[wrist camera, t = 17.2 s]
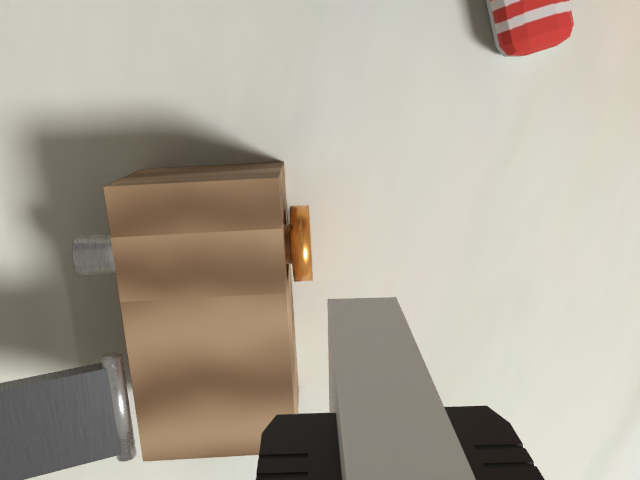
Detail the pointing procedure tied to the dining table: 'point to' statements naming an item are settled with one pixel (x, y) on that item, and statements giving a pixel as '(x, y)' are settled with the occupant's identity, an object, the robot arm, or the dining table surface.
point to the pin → (98, 255)
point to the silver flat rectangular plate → (65, 419)
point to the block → (205, 305)
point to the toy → (529, 25)
